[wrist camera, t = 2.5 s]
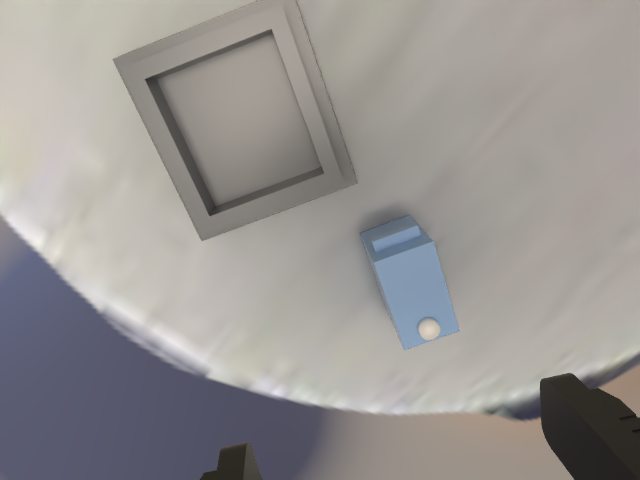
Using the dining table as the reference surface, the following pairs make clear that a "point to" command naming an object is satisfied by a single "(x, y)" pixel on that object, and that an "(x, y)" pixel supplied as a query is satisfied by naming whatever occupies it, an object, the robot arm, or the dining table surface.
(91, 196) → the dining table surface
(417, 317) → the block
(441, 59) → the dining table surface
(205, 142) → the grey shallow square tray
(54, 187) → the dining table surface
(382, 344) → the dining table surface
